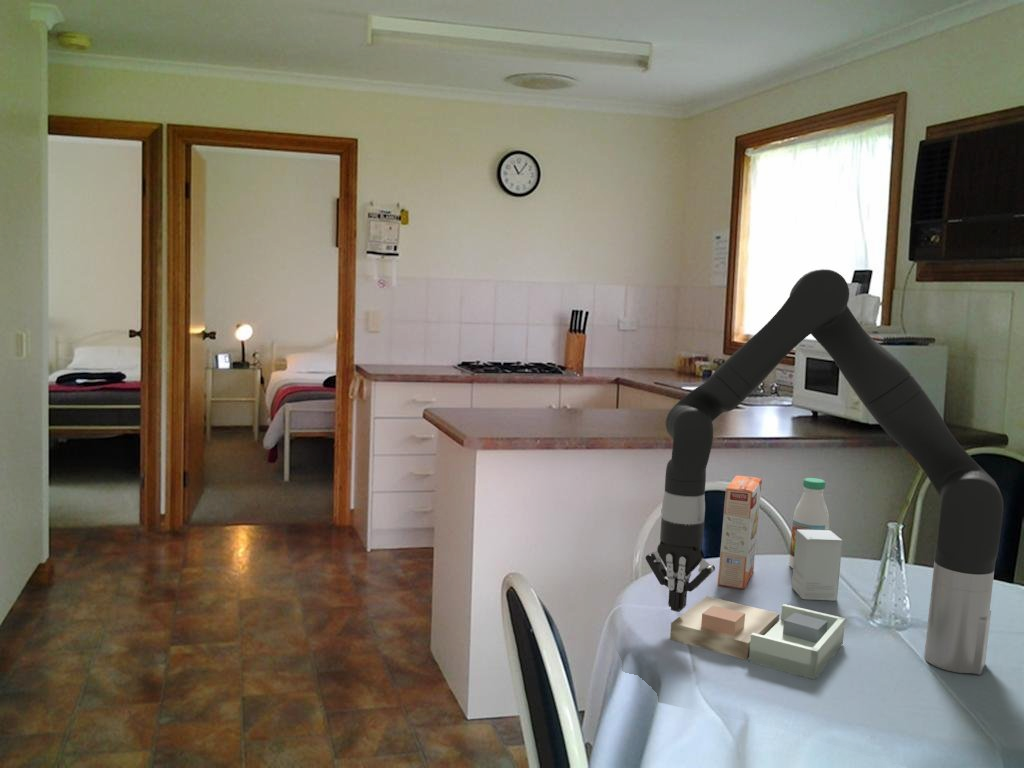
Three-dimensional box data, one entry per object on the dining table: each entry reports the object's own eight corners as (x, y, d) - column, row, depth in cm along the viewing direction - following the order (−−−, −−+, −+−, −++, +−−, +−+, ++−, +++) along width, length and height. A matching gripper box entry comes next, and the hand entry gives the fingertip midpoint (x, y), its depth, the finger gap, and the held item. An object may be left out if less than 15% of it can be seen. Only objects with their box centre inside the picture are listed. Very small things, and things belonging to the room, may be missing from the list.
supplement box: (838, 601, 192) (843, 540, 190) (801, 599, 192) (806, 538, 190) (826, 588, 199) (831, 529, 197) (790, 587, 199) (795, 528, 197)
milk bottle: (797, 560, 217) (804, 474, 215) (830, 568, 213) (838, 480, 210) (783, 567, 211) (790, 479, 209) (817, 576, 207) (825, 485, 204)
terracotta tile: (744, 626, 168) (745, 613, 168) (734, 635, 164) (735, 621, 164) (711, 618, 171) (712, 605, 171) (701, 627, 167) (702, 613, 167)
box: (842, 644, 170) (845, 618, 169) (814, 679, 155) (817, 651, 154) (781, 628, 176) (783, 603, 175) (748, 661, 161) (750, 634, 160)
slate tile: (826, 634, 168) (827, 621, 168) (816, 643, 164) (817, 629, 164) (793, 625, 172) (794, 612, 172) (782, 633, 168) (783, 620, 168)
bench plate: (778, 629, 176) (779, 613, 175) (746, 659, 162) (748, 642, 161) (706, 611, 183) (707, 596, 183) (670, 639, 169) (671, 622, 169)
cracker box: (746, 590, 196) (754, 491, 193) (716, 586, 198) (723, 487, 195) (755, 571, 208) (763, 477, 206) (727, 566, 211) (734, 473, 208)
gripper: (726, 519, 170) (719, 612, 172) (657, 505, 177) (651, 596, 179) (710, 528, 163) (703, 625, 166) (639, 514, 170) (634, 607, 173)
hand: (676, 609), depth 172 cm, fingers closed
